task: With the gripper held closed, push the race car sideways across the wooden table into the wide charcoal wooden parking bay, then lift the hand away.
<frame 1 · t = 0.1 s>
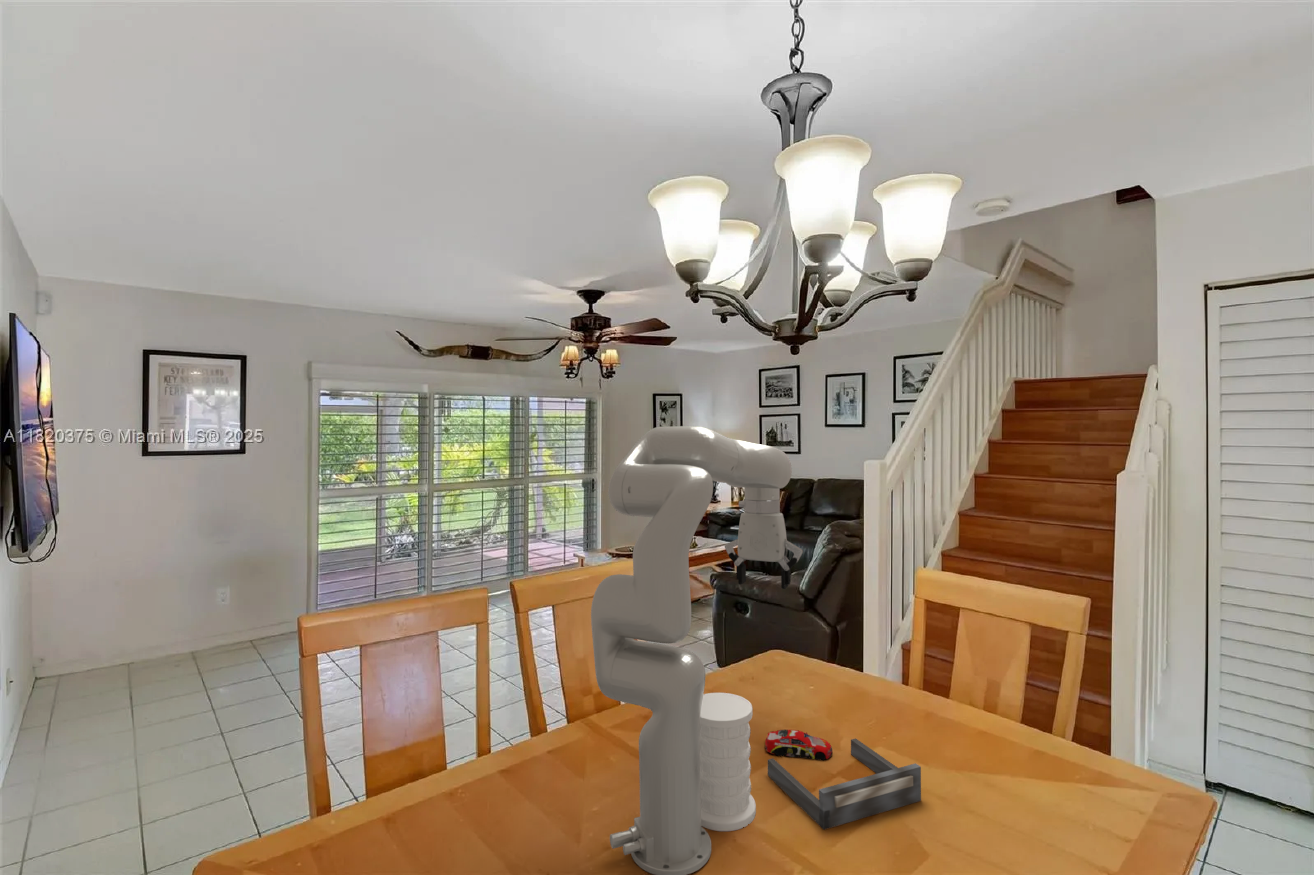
hand: (763, 585, 136), 31 cm above the table, tool pointing down, fingers open, 9 cm apart
parking bay: (839, 785, 114), on the table
race car: (798, 754, 126), on the table
decorative container: (721, 811, 107), on the table
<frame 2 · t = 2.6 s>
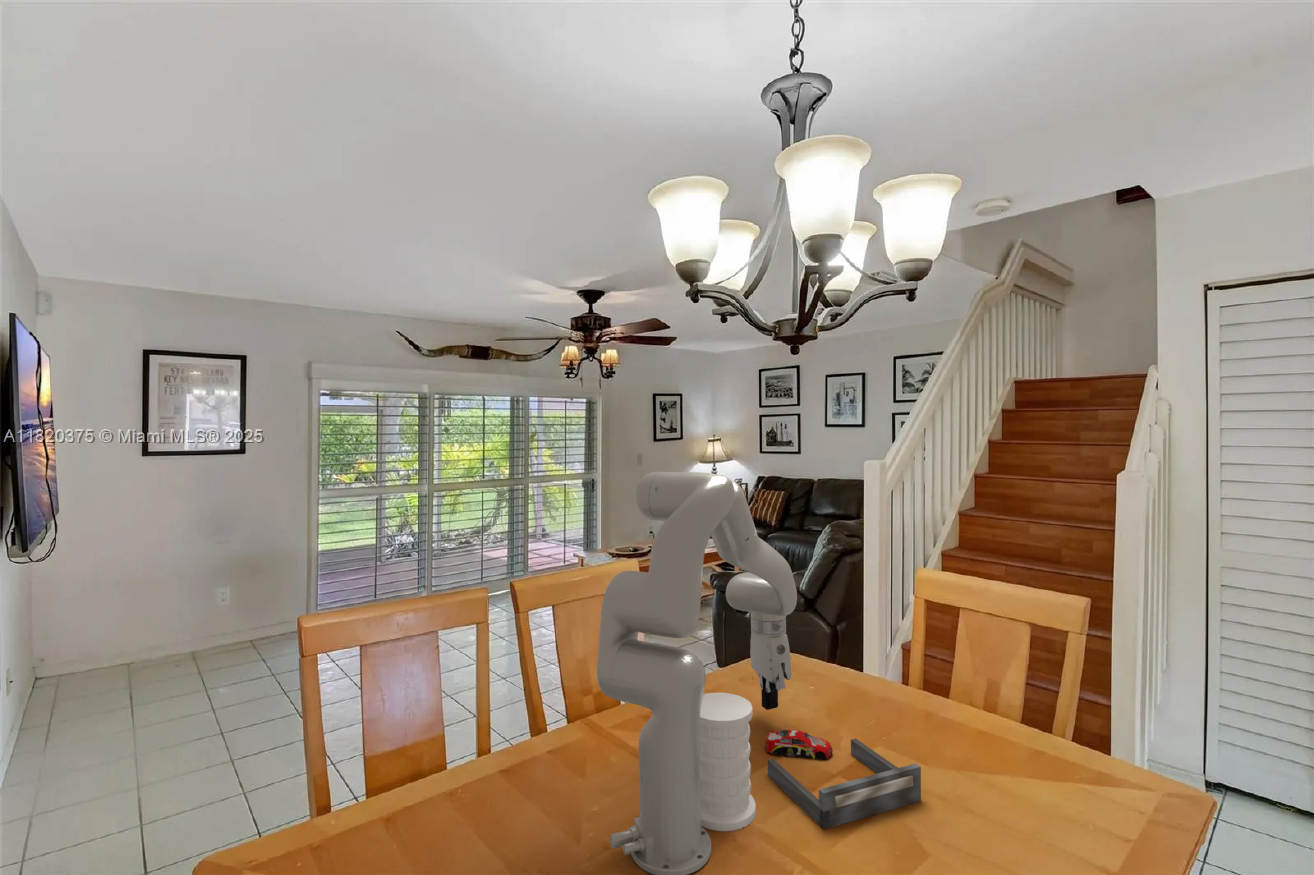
hand: (769, 707, 137), 4 cm above the table, tool pointing down, fingers closed
nothing on the table moved.
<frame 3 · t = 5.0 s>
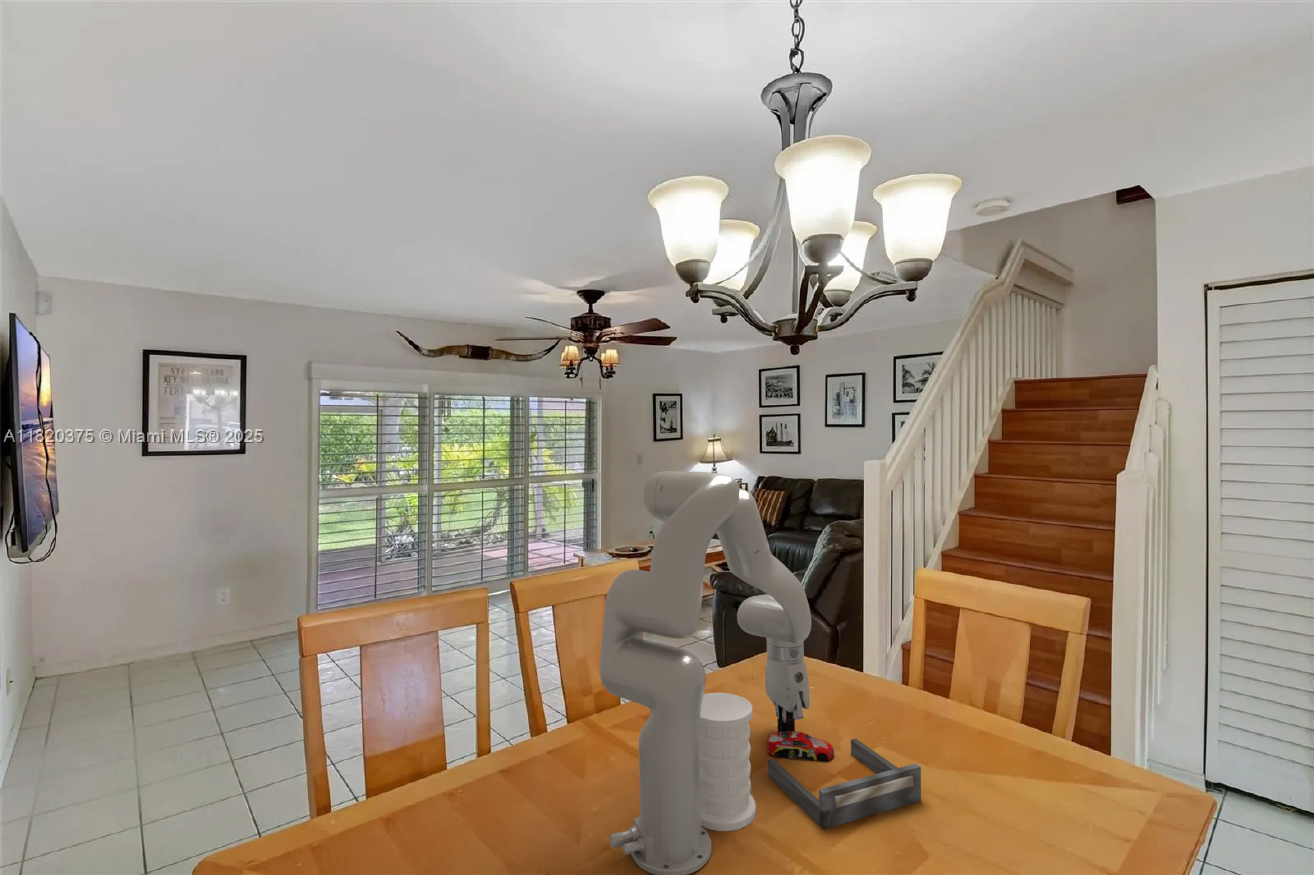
hand: (786, 737, 130), 1 cm above the table, tool pointing down, fingers closed
race car: (799, 755, 125), on the table, touching gripper
everything else where it was.
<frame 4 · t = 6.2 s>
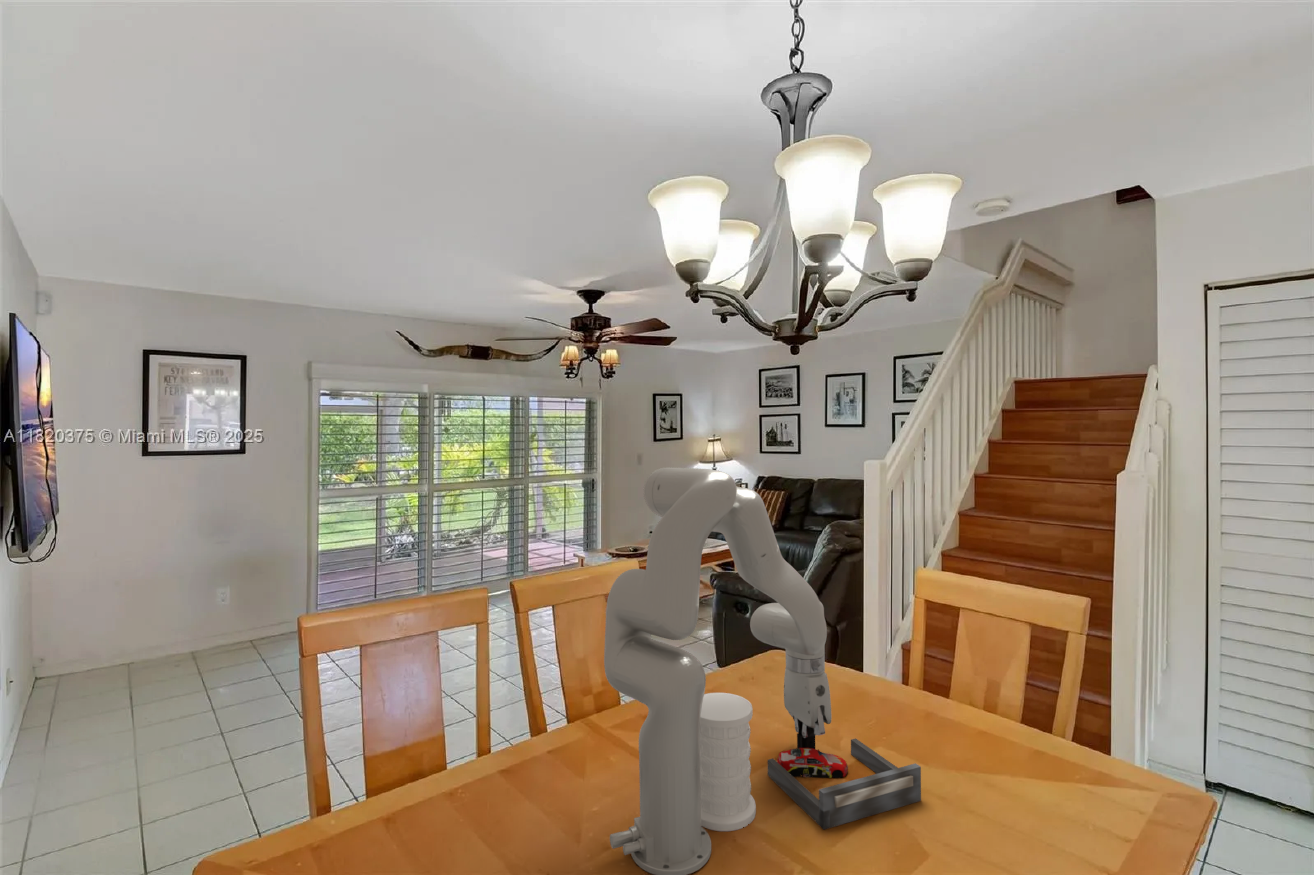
hand: (806, 753, 124), 1 cm above the table, tool pointing down, fingers closed
race car: (812, 773, 119), on the table
everything else where it was.
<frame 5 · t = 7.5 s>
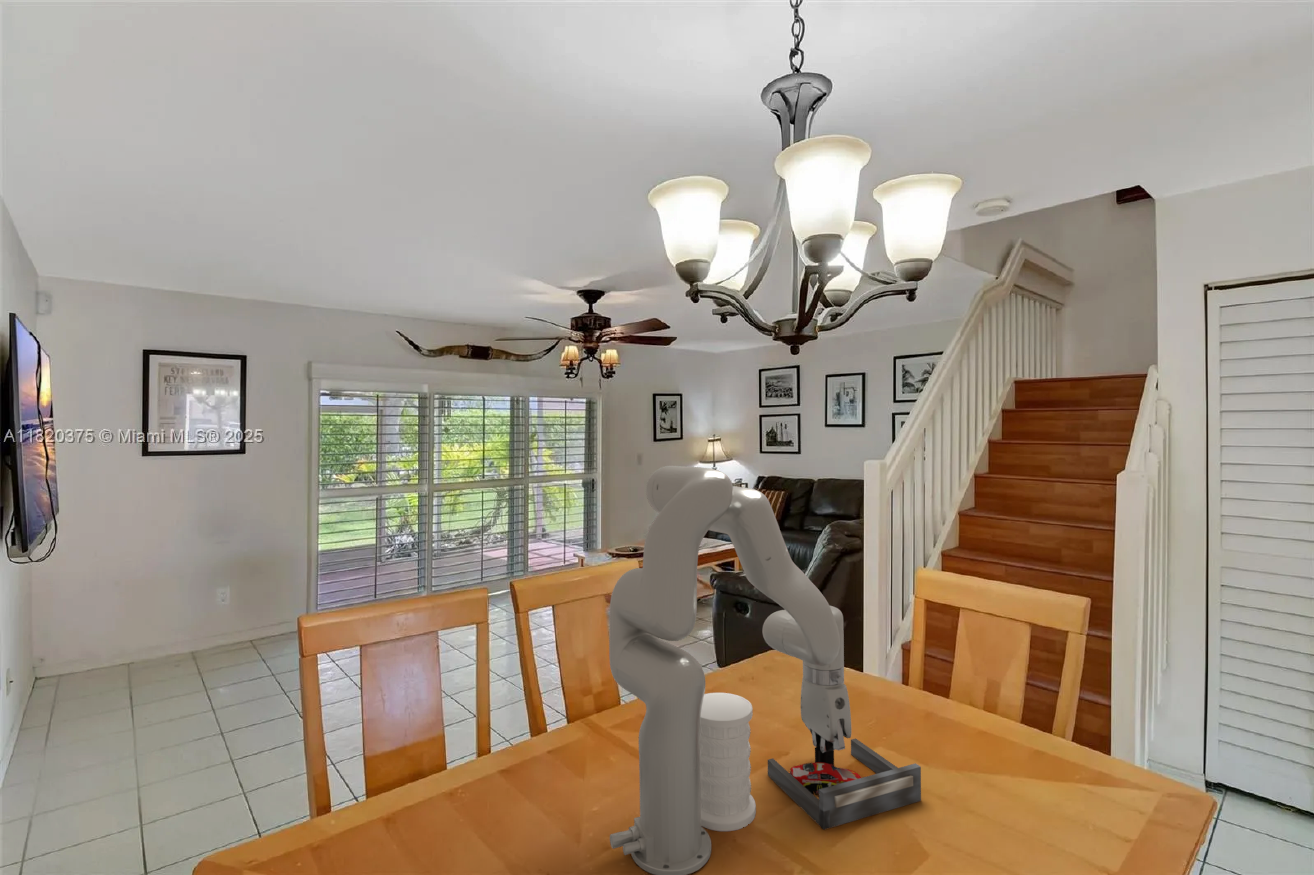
hand: (824, 768, 118), 1 cm above the table, tool pointing down, fingers closed
race car: (825, 789, 113), on the table, touching gripper
everything else where it was.
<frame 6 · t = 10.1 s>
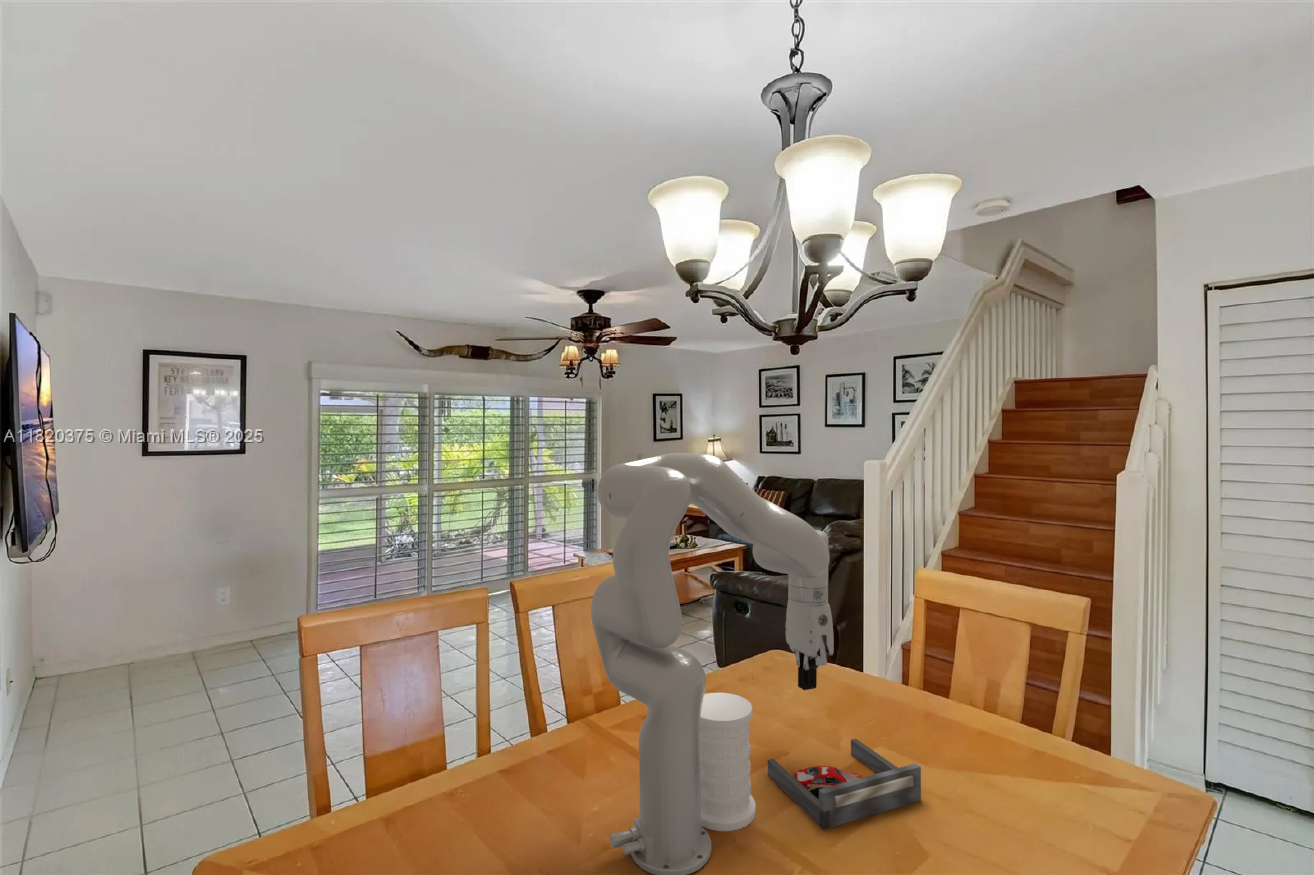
hand: (807, 687, 121), 15 cm above the table, tool pointing down, fingers closed
race car: (830, 793, 112), on the table
everything else where it was.
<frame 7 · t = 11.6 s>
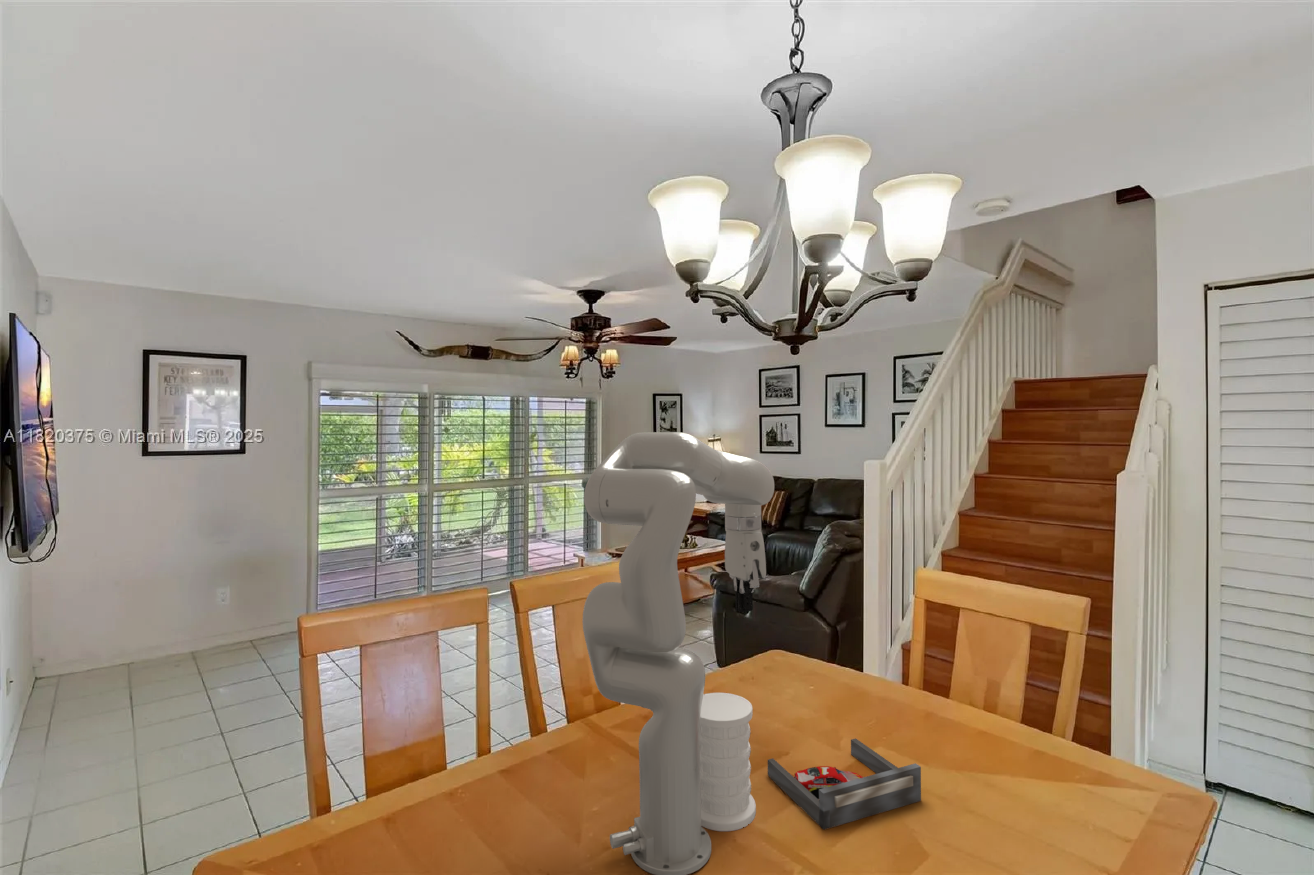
hand: (744, 610, 131), 27 cm above the table, tool pointing down, fingers closed
nothing on the table moved.
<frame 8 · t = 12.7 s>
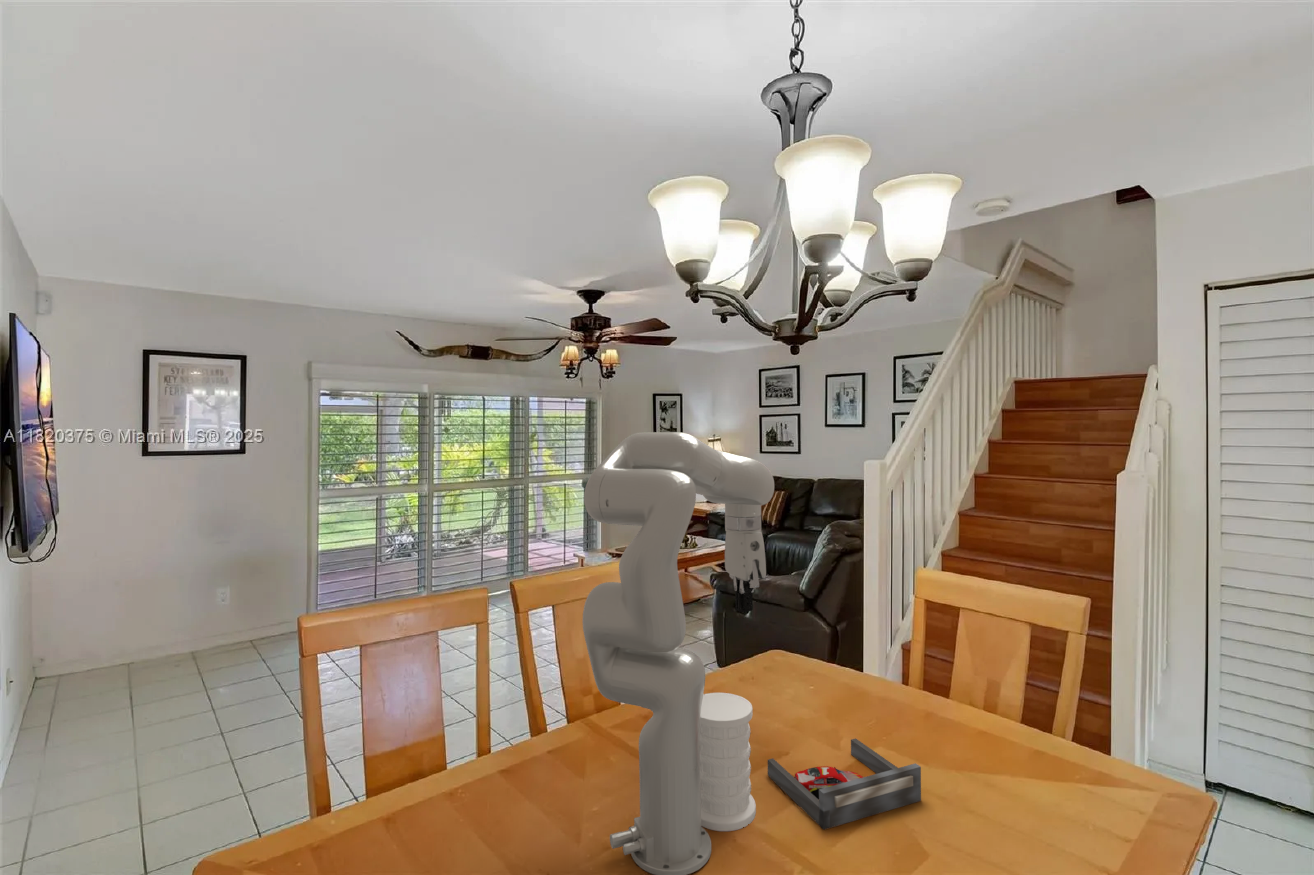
hand: (744, 610, 131), 27 cm above the table, tool pointing down, fingers closed
nothing on the table moved.
at the end: race car inside the target area on the parking bay (2.4 cm from its centre), point -0.5 cm above the parking bay's base; race car tilted 0° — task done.
